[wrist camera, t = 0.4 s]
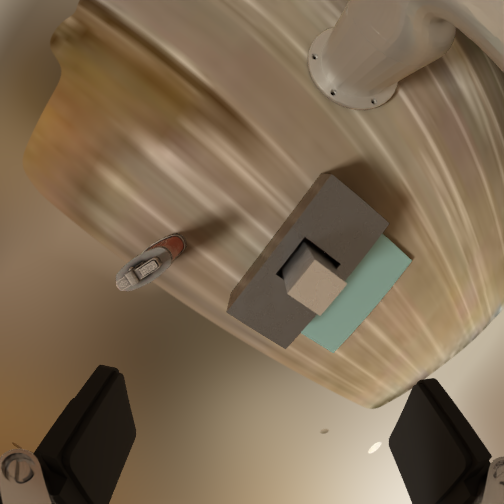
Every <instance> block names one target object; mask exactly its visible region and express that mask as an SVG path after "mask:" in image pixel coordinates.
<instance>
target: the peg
mask: <svg viewBox="0 0 504 504" xmlns="http://www.w3.org/2000/svg"><path fill="white" fill-rule="evenodd" d="M282 271H283V276H284V281H285V285H286V290H287V294H288V295H290V296H291V297H293V298H294V299H296V300H297V301H299V302H300V303H302V304H303V305H305V306H306V307H307V308H309V309H310V310H312V311H313V312H315V313H316V314H318V315H319V316H321V315H322V313H323V312H324V311H325V310H326V309H327V308H328V306H329V305H330V304H331V303H332V302H333V301H334V299H335V298H336V297H337V296H338V295H339V293H340V292H341V291H342V290H343V289H344V287H345V286H346V285H347V283H346V281H345V280H344V278H343V277H342V276H341V274H340V273H339V272H338V270H337V269H336V267H335V266H334V265H333V263H332V262H331V261H330V259H329V258H328V257H327V255H326V254H325V253H324V251H322V250H321V249H320V248H318V247H317V246H316V245H314V244H313V243H312V242H310V241H309V240H308V239H306V238H305V237H304V238H303V240H302V241H301V242H300V244H299V245H298V246H297V247H296V249H295V250H294V251H293V253H292V254H291V255H290V256H289V258H288V259H287V260H286V262H285V263H284V264H283V265H282Z"/></svg>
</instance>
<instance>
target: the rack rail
mask: <svg viewBox="0 0 504 504" xmlns="http://www.w3.org/2000/svg"><path fill="white" fill-rule="evenodd" d="M388 225H389V223H388V222H387V221H386V220H385V219H384V218H383V217H382V216H381V215H379V214H378V213H377V212H376V211H375V210H374V209H373V208H372V207H370V206H369V205H368V204H367V203H366V202H365V201H363V200H362V199H361V198H360V197H359V196H358V195H356V194H355V193H354V192H353V191H352V190H351V189H349V188H348V187H347V186H346V185H344V184H343V183H342V182H341V181H340V180H338V179H337V178H336V177H335V176H333V175H332V174H322V173H321V174H320V175H319V177H318V178H317V180H316V181H315V182H314V184H313V185H312V186H311V188H310V189H309V190H308V192H307V193H306V194H305V196H304V197H303V198H302V200H301V201H300V202H299V204H298V205H297V206H296V208H295V209H294V210H293V212H292V213H291V214H290V216H289V217H288V218H287V220H286V221H285V222H284V223H283V225H282V226H281V227H280V229H279V230H278V231H277V233H276V234H275V235H274V237H273V238H272V239H271V241H270V242H269V243H268V245H267V246H266V247H265V249H264V250H263V251H262V253H261V254H260V255H259V257H258V258H257V259H256V261H255V262H254V263H253V265H252V266H251V267H250V268H249V270H248V271H247V272H246V274H245V275H244V276H243V278H242V279H241V280H240V282H239V283H238V284H237V286H236V287H235V288H234V290H233V291H232V292H231V295H230V299H229V303H228V308H227V313H229V314H230V315H232V316H233V317H235V318H236V319H238V320H239V321H241V322H243V323H244V324H246V325H247V326H249V327H250V328H252V329H254V330H255V331H257V332H258V333H260V334H262V335H263V336H265V337H266V338H268V339H270V340H271V341H273V342H275V343H276V344H278V345H280V346H281V347H283V348H285V349H286V348H287V347H288V346H289V345H290V344H291V343H292V342H293V341H294V339H295V338H296V337H297V336H298V335H299V334H300V333H301V332H302V331H303V330H304V328H305V327H306V326H307V325H308V324H309V323H310V322H311V321H312V319H313V318H314V317H315V316H316V315H317V314H316V313H315V312H313V311H312V310H310V309H309V308H307V307H306V306H305V305H303V304H302V303H300V302H299V301H297V300H296V299H294V298H293V297H291V296H290V295H288V294H287V290H286V285H285V281H284V276H283V271H282V265H283V264H284V263H285V262H286V260H287V259H288V258H289V256H290V255H291V254H292V253H293V251H294V250H295V249H296V247H297V246H298V245H299V244H300V242H301V241H302V240H303V238H304V237H306V238H307V239H309V240H310V241H311V242H313V243H314V244H315V245H317V246H318V247H319V248H321V249H322V250H323V251H325V252H326V253H327V257H328V258H329V259H330V261H331V262H332V263H333V265H334V266H335V267H336V269H337V270H338V272H339V273H340V274H341V276H342V277H343V278H344V280H346V279H347V278H348V277H349V276H350V274H351V273H352V272H353V271H354V269H355V268H356V267H357V266H358V264H359V263H360V262H361V260H362V259H363V258H364V257H365V255H366V254H367V253H368V252H369V250H370V249H371V248H372V246H373V245H374V244H375V242H376V241H377V240H378V238H379V237H380V236H381V234H382V233H383V232H384V230H385V229H386V228H387V226H388Z"/></svg>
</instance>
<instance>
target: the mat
mask: <svg viewBox="0 0 504 504" xmlns="http://www.w3.org/2000/svg"><path fill="white" fill-rule="evenodd" d="M411 261H412V260H411V259H410V258H409V257H408V256H406V255H405V254H404V253H403V252H402V251H401V250H400V249H399V248H398V247H397V246H396V245H395V244H393V243H392V242H391V241H390V240H389V239H388V238H387V237H386V236H385V235H383V234H381V236H380V237H379V238H378V240H377V241H376V242H375V244H374V245H373V246H372V248H371V249H370V250H369V252H368V253H367V254H366V255H365V257H364V258H363V259H362V260H361V262H360V263H359V264H358V266H357V267H356V268H355V269H354V271H353V272H352V273H351V274H350V276H349V277H348V278H347V279H346V280H345V281H346V283H347V285H346V286H345V287H344V289H343V290H342V291H341V292H340V293H339V295H338V296H337V297H336V298H335V299H334V301H333V302H332V303H331V304H330V305H329V306H328V308H327V309H326V310H325V311H324V312H323V313H322V315H321V316H319V315H318V314H317V315H316V316H315V317H314V318H313V319H312V321H311V322H310V323H309V324H308V325H307V326H306V327H305V328H304V330H303V331H302V332H301V333H302V334H303V335H305V336H307V337H308V338H310V339H311V340H313V341H315V342H316V343H318V344H319V345H321V346H323V347H324V348H326V349H327V350H329V351H331V352H332V353H334V352H335V351H336V350H337V349H338V348H339V347H340V346H341V344H342V343H343V342H344V341H345V340H346V339H347V338H348V337H349V336H350V335H351V334H352V333H353V331H354V330H355V329H356V328H357V327H358V326H359V325H360V324H361V323H362V321H363V320H364V319H365V318H366V317H367V316H368V315H369V313H370V312H371V311H372V310H373V309H374V308H375V306H376V305H377V304H378V303H379V302H380V300H381V299H382V298H383V297H384V296H385V294H386V293H387V292H388V291H389V290H390V288H391V287H392V286H393V285H394V283H395V282H396V281H397V280H398V278H399V277H400V276H401V274H402V273H403V272H404V271H405V269H406V268H407V267H408V265H409V264H410V263H411Z"/></svg>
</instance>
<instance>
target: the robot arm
mask: <svg viewBox="0 0 504 504" xmlns="http://www.w3.org/2000/svg"><path fill="white" fill-rule="evenodd" d="M456 28H458V29H459V30H460V31H461V32H462V33H464V34H465V35H466V36H467V37H468V38H469V39H470V40H472V41H473V42H474V43H475V44H477V45H478V46H479V47H480V48H481V49H482V50H483V51H484V52H485V53H486V54H487V55H488V56H489V57H490V58H491V59H492V61H493V62H494V63H495V64H496V65H497V66H498V67H499V68H500V69H501V70H502V71H503V73H504V0H349V2H348V4H347V5H346V7H345V9H344V11H343V13H342V14H341V16H340V18H339V20H338V22H337V23H336V25H335V27H332V28H329V29H327V30H325V31H323V32H321V33H320V34H319V35H318V36H317V37H316V38H315V40H314V41H313V42H312V44H311V47H310V49H309V53H308V68H309V72H310V75H311V77H312V80H313V81H314V83H315V84H316V86H317V87H318V89H319V90H320V91H321V92H322V93H323V94H324V95H325V96H326V97H328V98H329V99H330V100H332V101H333V102H335V103H337V104H339V105H341V106H344V107H346V108H350V109H355V110H368V109H373V108H375V107H378V106H380V105H382V104H384V103H385V102H387V101H388V100H389V99H390V98H391V97H392V95H393V94H394V92H395V90H396V88H397V84H398V81H400V80H401V79H403V78H405V77H407V76H408V75H410V74H412V73H414V72H415V71H417V70H419V69H421V68H423V67H424V66H426V65H428V64H430V63H431V62H433V61H435V60H437V59H439V58H440V57H442V56H443V55H444V54H445V53H446V52H447V51H448V50H449V49H450V47H451V45H452V43H453V41H454V38H455V33H456ZM312 57H314V58H315V59H313V58H312ZM331 93H334V96H333V95H331ZM371 101H373V104H372V103H371ZM135 437H136V429H135V424H134V420H133V416H132V412H131V408H130V404H129V400H128V395H127V390H126V385H125V380H124V376H123V374H121V373H119V370H118V369H117V368H114V367H109V366H104V365H99V366H98V367H97V368H96V370H95V371H94V373H93V374H92V375H91V377H90V378H89V379H88V381H87V382H86V383H85V385H84V386H83V387H82V389H81V390H80V392H79V393H78V394H77V396H76V397H75V398H73V399H72V400H71V401H70V402H69V404H68V405H67V406H66V408H65V409H64V411H63V412H62V414H61V415H60V416H59V417H58V419H57V420H56V422H55V423H54V425H53V426H52V427H51V429H50V430H49V432H48V433H47V435H46V436H45V437H44V439H43V440H42V442H41V443H40V445H39V446H38V448H37V449H36V451H35V452H34V454H32V453H31V452H29V451H27V450H23V449H13V450H9V451H7V452H6V453H4V454H3V455H2V456H1V457H0V504H109V502H110V499H111V497H112V494H113V492H114V489H115V487H116V484H117V482H118V479H119V477H120V474H121V472H122V469H123V467H124V464H125V462H126V459H127V457H128V455H129V452H130V450H131V447H132V445H133V443H134V440H135ZM389 447H390V449H391V452H392V454H393V456H394V459H395V461H396V464H397V466H398V469H399V471H400V473H401V476H402V478H403V481H404V483H405V486H406V488H407V491H408V493H409V496H410V498H411V501H412V504H504V457H499V458H497V459H495V460H493V462H492V463H490V462H489V460H490V458H491V457H492V456H491V454H490V453H489V452H488V450H487V448H486V447H485V445H484V444H483V443H482V441H481V440H480V438H479V437H478V435H477V434H476V432H475V431H474V430H473V428H472V427H471V425H470V424H469V422H468V421H467V420H466V418H465V417H464V416H463V414H462V413H461V412H460V410H459V409H458V407H457V406H456V405H455V403H454V402H453V401H452V399H451V398H450V397H449V395H448V394H447V392H445V390H444V389H443V387H442V386H441V385H440V384H439V382H438V381H437V380H436V379H434V378H432V379H424V380H419V381H418V382H417V384H416V385H414V386H413V388H412V390H411V393H410V395H409V397H408V400H407V402H406V404H405V407H404V409H403V411H402V413H401V415H400V418H399V420H398V422H397V424H396V426H395V428H394V430H393V432H392V434H391V436H390V438H389Z"/></svg>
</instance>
